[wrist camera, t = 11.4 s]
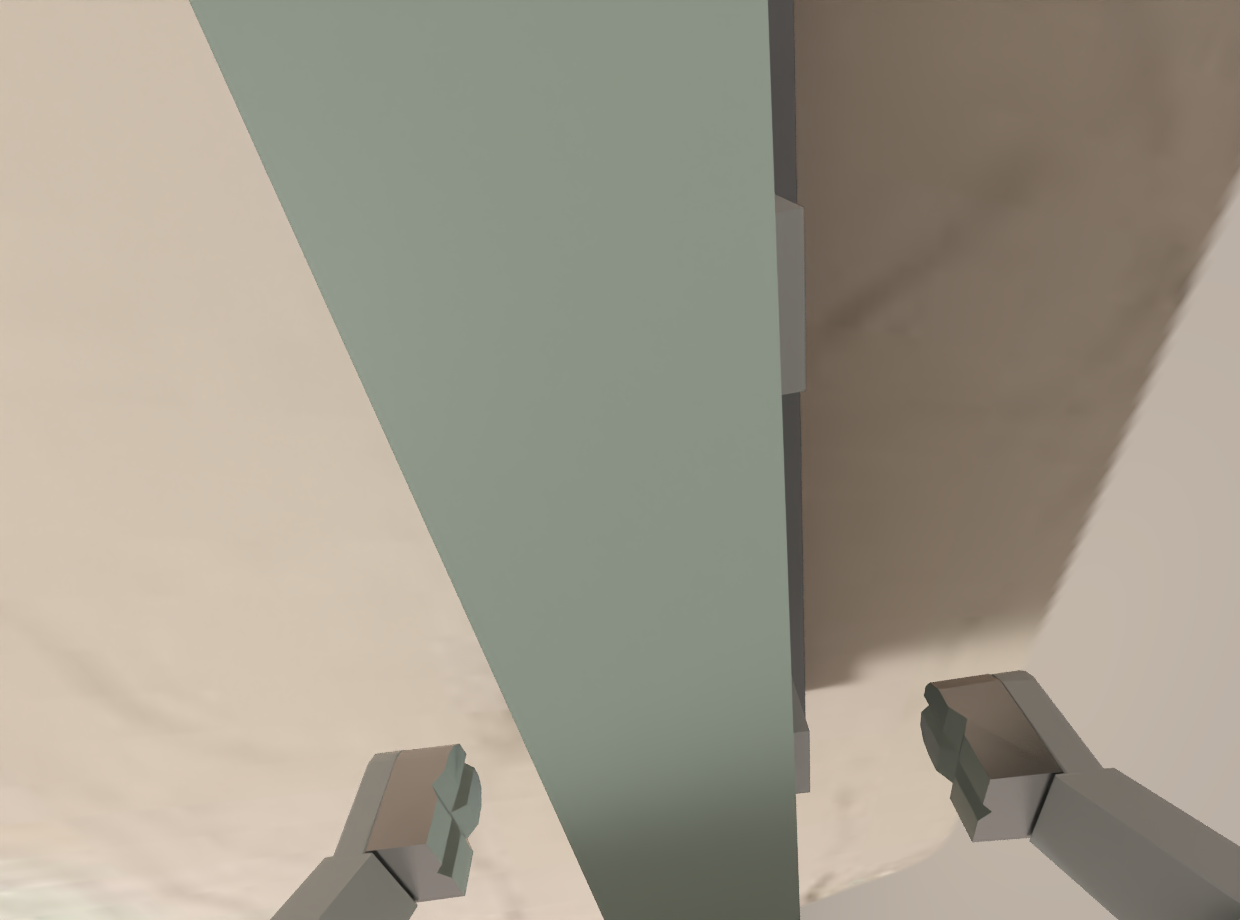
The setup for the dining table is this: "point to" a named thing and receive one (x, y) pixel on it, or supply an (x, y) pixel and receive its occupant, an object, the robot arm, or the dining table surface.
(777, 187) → the hinge base
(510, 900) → the dining table surface
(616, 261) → the cabinet door
